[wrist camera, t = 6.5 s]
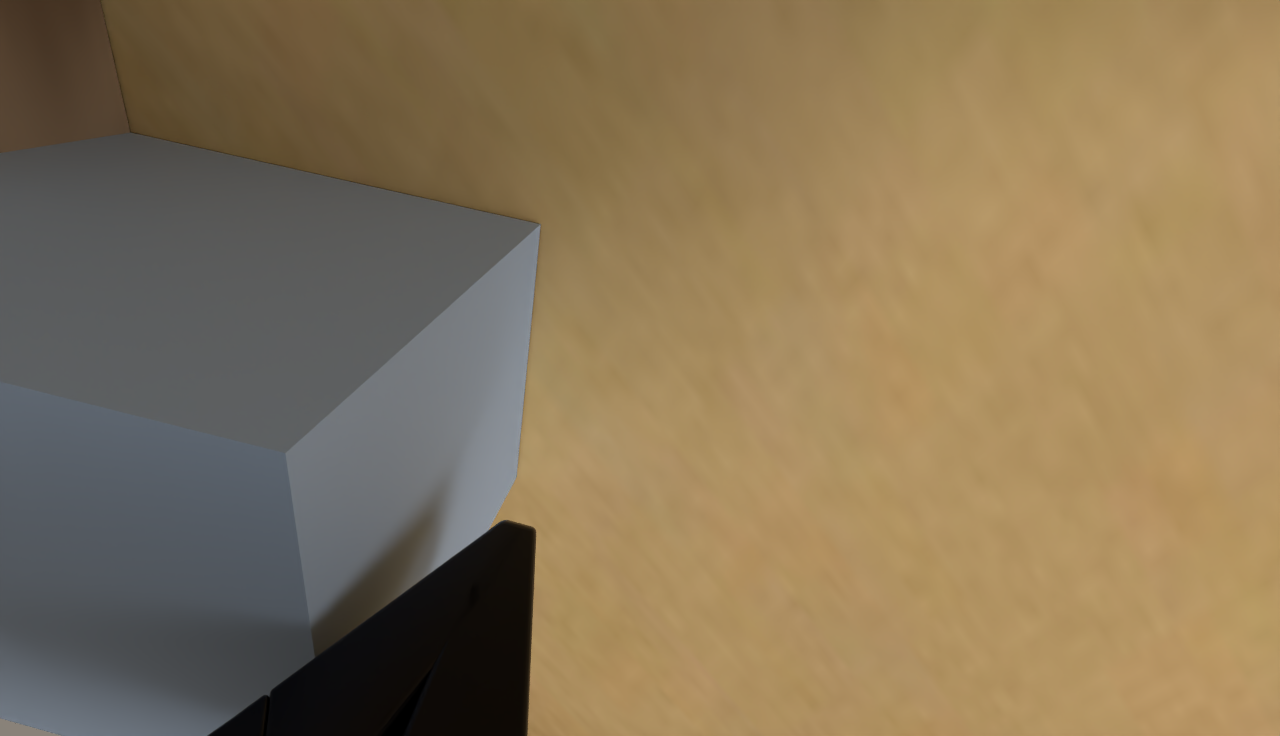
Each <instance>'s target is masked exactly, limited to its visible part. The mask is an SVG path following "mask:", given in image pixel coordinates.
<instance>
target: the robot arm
mask: <svg viewBox="0 0 1280 736" xmlns="http://www.w3.org/2000/svg"><path fill="white" fill-rule="evenodd" d="M535 549H536V530H535V528H533V527H531V526H527V525H524V524H520V523H516V522H513V521H509V520H504V521H501V522H499V523H498V524H496V525H495V526H494V527H492V528H491V529H490V530H488V531H487V532H486V533H484V534H483V535H481V536H480V537H479V538H477V539H476V540H475V541H473V542H472V543H471V544H469V545H468V546H466V547H465V548H464V549H462V550H461V551H460V552H458V553H457V554H456V555H454V556H453V557H451V558H450V559H449V560H447V561H446V562H445V563H443V564H442V565H441V566H439V567H438V568H436V569H435V570H434V571H432V572H431V573H430V574H428V575H427V576H426V577H424V578H423V579H421V580H420V581H419V582H417V583H416V584H415V585H413V586H412V587H411V588H409V589H408V590H406V591H405V592H404V593H402V594H401V595H400V596H398V597H397V598H396V599H394V600H393V601H391V602H390V603H389V604H387V605H386V606H385V607H383V608H382V609H381V610H379V611H378V612H376V613H375V614H374V615H372V616H371V617H370V618H368V619H367V620H366V621H364V622H363V623H361V624H360V625H359V626H357V627H356V628H355V629H353V630H352V631H351V632H349V633H348V634H346V635H345V636H344V637H342V638H341V639H340V640H338V641H337V642H336V643H334V644H333V645H331V646H330V647H329V648H327V649H326V650H325V651H323V652H322V653H321V654H319V655H318V656H317V657H315V658H314V659H312V660H311V661H310V662H308V663H307V664H306V665H304V666H303V667H302V668H300V669H299V670H297V671H296V672H295V673H293V674H292V675H291V676H289V677H288V678H287V679H285V680H284V681H282V682H281V683H280V684H278V685H277V686H276V687H274V688H273V689H272V690H271V691H270V697H269V696H268V695H263V696H261V697H260V698H259V699H257V700H256V701H255V702H253V703H252V704H251V705H249V706H248V707H247V708H245V709H244V710H242V711H241V712H240V713H238V714H237V715H236V716H234V717H233V718H232V719H230V720H229V721H227V722H226V723H224V724H223V725H222V726H220V727H219V728H217V729H216V730H214V731H213V732H212V733H210V734H209V735H207V736H527V732H528V709H529V686H530V663H531V640H532V618H533V595H534V572H535Z"/></svg>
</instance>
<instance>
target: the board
mask: <svg viewBox="0 0 1280 736" xmlns="http://www.w3.org/2000/svg"><path fill="white" fill-rule="evenodd" d="M125 133H130V129H129V125H128V120H127V116H126V112H125V107H124V103H123V99H122V94H121V90H120V85H119V81H118V77H117V72H116V68H115V64H114V59H113V55H112V51H111V46H110V42H109V37H108V33H107V29H106V24H105V20H104V16H103V11H102V7H101V3H100V0H0V153H4V152H10V151H17V150H23V149H29V148H36V147H42V146H48V145H55V144H61V143H67V142H74V141H80V140H86V139H93V138H99V137H106V136H112V135H118V134H125Z"/></svg>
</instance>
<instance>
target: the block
mask: <svg viewBox="0 0 1280 736" xmlns="http://www.w3.org/2000/svg"><path fill="white" fill-rule="evenodd" d="M540 226H541V224H537V223H533V222H528V221H524V220H519V219H515V218H510V217H506V216H501V215H497V214H492V213H488V212H483V211H479V210H474V209H470V208H466V207H461V206H457V205H452V204H448V203H443V202H439V201H434V200H430V199H425V198H421V197H416V196H412V195H408V194H403V193H399V192H394V191H390V190H385V189H381V188H376V187H372V186H367V185H363V184H358V183H354V182H349V181H345V180H341V179H336V178H332V177H327V176H323V175H318V174H314V173H309V172H305V171H300V170H296V169H291V168H287V167H282V166H278V165H274V164H269V163H265V162H260V161H256V160H251V159H247V158H242V157H238V156H233V155H229V154H224V153H220V152H216V151H211V150H207V149H202V148H198V147H193V146H189V145H184V144H180V143H175V142H171V141H166V140H162V139H157V138H153V137H149V136H144V135H140V134H135V133H125V134H118V135H112V136H106V137H99V138H93V139H86V140H80V141H74V142H67V143H61V144H55V145H48V146H42V147H36V148H29V149H23V150H17V151H10V152H4V153H0V718H2V719H5V720H8V721H12V722H16V723H20V724H23V725H26V726H30V727H33V728H37V729H40V730H44V731H47V732H51V733H55V734H58V735H61V736H207V735H209V734H210V733H212V732H213V731H214V730H216V729H217V728H219V727H220V726H222V725H223V724H224V723H226V722H227V721H229V720H230V719H232V718H233V717H234V716H236V715H237V714H238V713H240V712H241V711H242V710H244V709H245V708H247V707H248V706H249V705H251V704H252V703H253V702H255V701H256V700H257V699H259V698H260V697H261V696H263V695H268V696H269V697H270V691H271V690H272V689H273V688H274V687H276V686H277V685H278V684H280V683H281V682H282V681H284V680H285V679H287V678H288V677H289V676H291V675H292V674H293V673H295V672H296V671H297V670H299V669H300V668H302V667H303V666H304V665H306V664H307V663H308V662H310V661H311V660H312V659H314V658H315V657H317V656H318V655H319V654H321V653H322V652H323V651H325V650H326V649H327V648H329V647H330V646H331V645H333V644H334V643H336V642H337V641H338V640H340V639H341V638H342V637H344V636H345V635H346V634H348V633H349V632H351V631H352V630H353V629H355V628H356V627H357V626H359V625H360V624H361V623H363V622H364V621H366V620H367V619H368V618H370V617H371V616H372V615H374V614H375V613H376V612H378V611H379V610H381V609H382V608H383V607H385V606H386V605H387V604H389V603H390V602H391V601H393V600H394V599H396V598H397V597H398V596H400V595H401V594H402V593H404V592H405V591H406V590H408V589H409V588H411V587H412V586H413V585H415V584H416V583H417V582H419V581H420V580H421V579H423V578H424V577H426V576H427V575H428V574H430V573H431V572H432V571H434V570H435V569H436V568H438V567H439V566H441V565H442V564H443V563H445V562H446V561H447V560H449V559H450V558H451V557H453V556H454V555H456V554H457V553H458V552H460V551H461V550H462V549H464V548H465V547H466V546H468V545H469V544H471V543H472V542H473V541H475V540H476V539H477V538H479V537H480V536H481V535H483V534H484V533H486V532H487V531H488V530H489V528H490V526H491V524H492V522H493V520H494V519H495V517H496V515H497V513H498V511H499V509H500V507H501V505H502V504H503V502H504V500H505V498H506V496H507V494H508V492H509V490H510V488H511V487H512V485H513V483H514V481H515V479H516V477H517V466H518V456H519V445H520V435H521V424H522V414H523V403H524V393H525V383H526V372H527V362H528V351H529V341H530V330H531V320H532V310H533V299H534V289H535V278H536V268H537V257H538V247H539V236H540Z"/></svg>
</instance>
